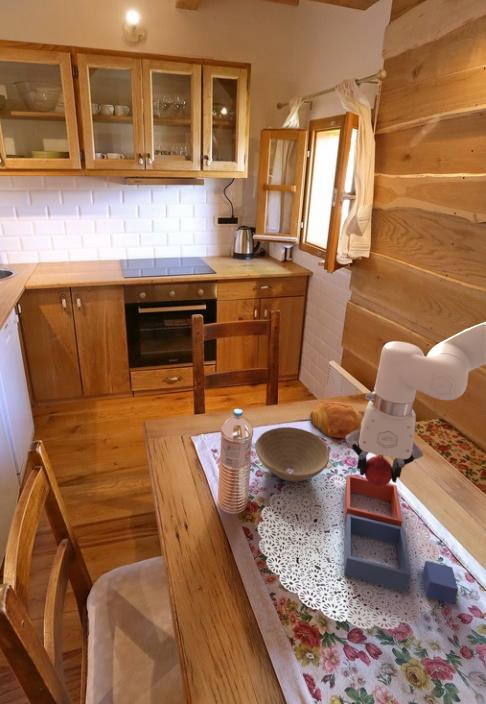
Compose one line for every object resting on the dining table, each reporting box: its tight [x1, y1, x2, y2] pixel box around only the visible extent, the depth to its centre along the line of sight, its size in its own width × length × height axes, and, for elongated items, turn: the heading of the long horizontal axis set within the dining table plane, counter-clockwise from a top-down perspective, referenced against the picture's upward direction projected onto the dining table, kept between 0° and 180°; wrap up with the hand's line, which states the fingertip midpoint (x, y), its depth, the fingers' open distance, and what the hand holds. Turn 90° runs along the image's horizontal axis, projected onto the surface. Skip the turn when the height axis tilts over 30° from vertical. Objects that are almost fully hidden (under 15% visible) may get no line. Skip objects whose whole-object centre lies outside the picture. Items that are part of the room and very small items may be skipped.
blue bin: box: [343, 514, 412, 593], centre depth 79 cm, size 11×11×5 cm
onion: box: [364, 455, 393, 486], centre depth 88 cm, size 6×6×8 cm
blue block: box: [421, 560, 459, 604], centre depth 74 cm, size 4×4×4 cm
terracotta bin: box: [343, 474, 403, 527], centre depth 91 cm, size 11×11×5 cm
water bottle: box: [217, 408, 254, 515], centre depth 88 cm, size 7×7×25 cm
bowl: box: [254, 426, 330, 483], centre depth 102 cm, size 18×18×8 cm
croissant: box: [309, 401, 363, 439], centre depth 122 cm, size 14×16×8 cm
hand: (377, 474), depth 88 cm, fingers closed on onion, 5 cm apart
